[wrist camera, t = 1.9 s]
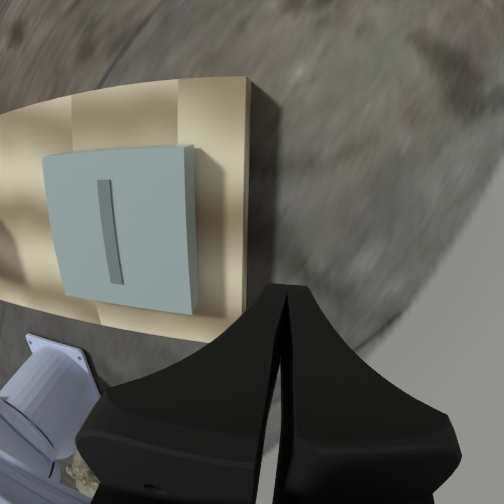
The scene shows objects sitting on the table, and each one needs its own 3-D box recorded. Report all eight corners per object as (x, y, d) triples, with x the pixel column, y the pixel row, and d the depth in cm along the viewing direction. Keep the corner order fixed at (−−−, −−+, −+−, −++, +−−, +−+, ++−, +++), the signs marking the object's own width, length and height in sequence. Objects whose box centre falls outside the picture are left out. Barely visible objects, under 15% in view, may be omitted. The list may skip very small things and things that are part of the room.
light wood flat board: (245, 328, 22) (241, 346, 20) (-4, 285, 25) (-16, 294, 23) (251, 81, 16) (246, 76, 14) (-31, 129, 19) (-47, 132, 17)
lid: (199, 300, 19) (191, 315, 17) (78, 283, 20) (64, 295, 18) (194, 144, 15) (183, 147, 14) (58, 152, 16) (40, 157, 15)
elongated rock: (77, 479, 48) (119, 498, 49) (70, 497, 44) (113, 517, 45) (75, 424, 32) (144, 457, 34) (60, 454, 28) (133, 490, 29)
